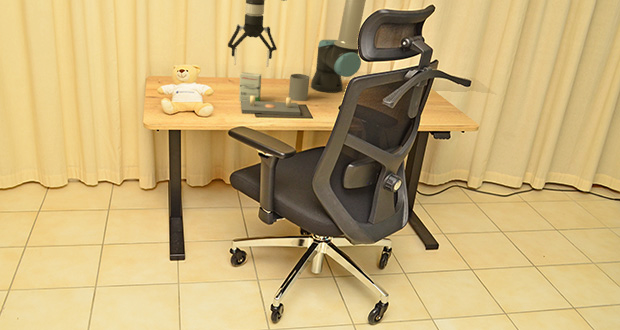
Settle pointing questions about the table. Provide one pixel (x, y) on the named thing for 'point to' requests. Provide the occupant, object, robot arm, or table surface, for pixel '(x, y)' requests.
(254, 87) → the ink box
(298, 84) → the cup
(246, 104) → the board
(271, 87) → the table surface
